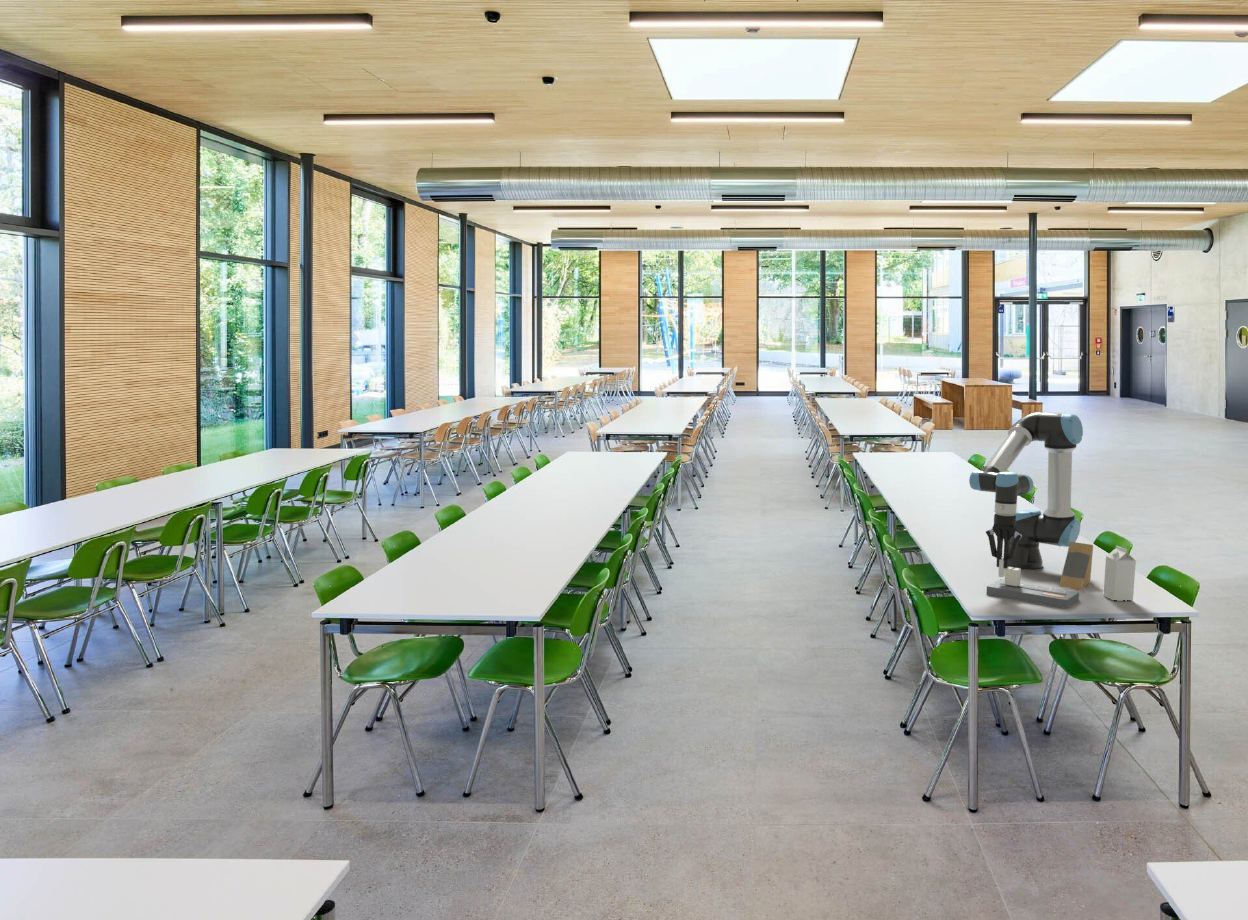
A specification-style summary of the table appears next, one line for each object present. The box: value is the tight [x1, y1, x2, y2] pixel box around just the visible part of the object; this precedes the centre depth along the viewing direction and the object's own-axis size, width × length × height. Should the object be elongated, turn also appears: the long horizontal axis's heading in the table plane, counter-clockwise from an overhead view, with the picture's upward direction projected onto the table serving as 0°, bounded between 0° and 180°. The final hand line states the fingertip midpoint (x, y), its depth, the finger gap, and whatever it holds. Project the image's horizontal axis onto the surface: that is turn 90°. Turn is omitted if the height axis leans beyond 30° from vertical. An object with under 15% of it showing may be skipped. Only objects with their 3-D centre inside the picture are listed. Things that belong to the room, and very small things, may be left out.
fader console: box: [986, 578, 1080, 609], centre depth 344 cm, size 14×28×3 cm, turn 48°
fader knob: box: [1004, 566, 1022, 586], centre depth 348 cm, size 4×4×6 cm
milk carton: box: [1103, 545, 1137, 602], centre depth 341 cm, size 7×7×19 cm
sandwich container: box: [1058, 541, 1094, 591], centre depth 362 cm, size 9×15×15 cm, turn 143°
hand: (1001, 576), depth 351 cm, fingers closed
